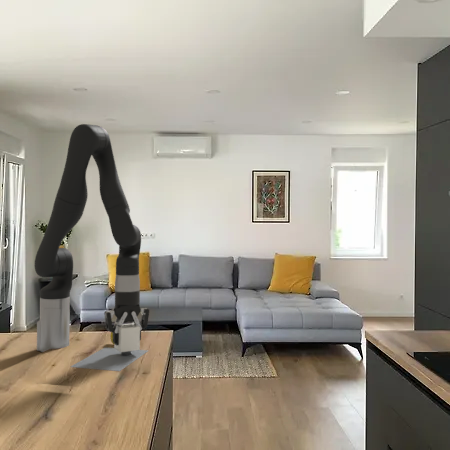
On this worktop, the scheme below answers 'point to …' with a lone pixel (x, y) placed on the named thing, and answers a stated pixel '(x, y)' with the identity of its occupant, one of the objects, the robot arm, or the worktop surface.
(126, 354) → the silver metal capsule
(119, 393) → the worktop surface
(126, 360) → the duct base
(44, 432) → the worktop surface
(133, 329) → the duct collar
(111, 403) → the worktop surface
